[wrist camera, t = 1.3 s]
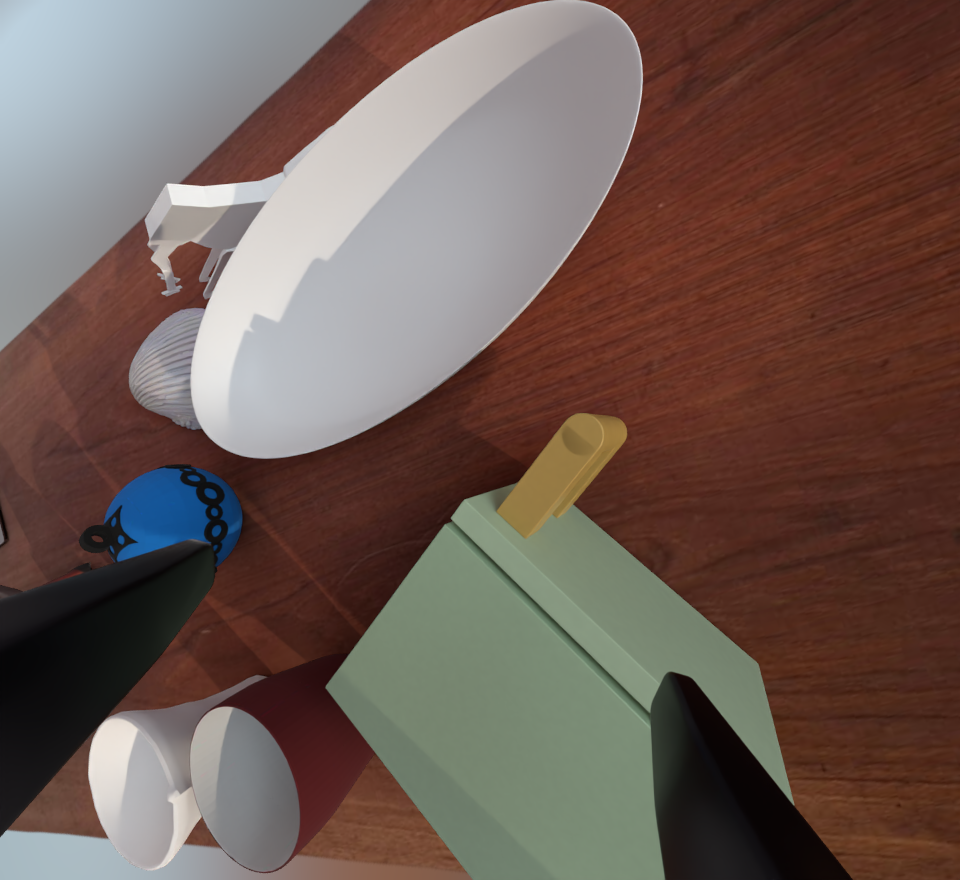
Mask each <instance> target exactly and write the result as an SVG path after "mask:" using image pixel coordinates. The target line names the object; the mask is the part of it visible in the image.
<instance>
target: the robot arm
mask: <svg viewBox="0 0 960 880" xmlns="http://www.w3.org/2000/svg"><path fill="white" fill-rule="evenodd" d="M214 579H215V563H214V548H213V546H212V545H211V544H210V543H207V542H203V541H200V540H196V539H189V540H185V541H182V542H179V543H176V544H173V545H170V546H166V547H163V548H160V549H157V550H154V551H151V552H148V553H144V554H141V555H138V556H135V557H132V558H129V559H125V560H122V561H119V562H116V563H113V564H110V565H107V566H103V567H100V568H97V569H94V570H91V571H88V572H84V573H81V574H78V575H75V576H72V577H69V578H65V579H62V580H59V581H56V582H53V583H50V584H47V585H43V586H40V587H37V588H34V589H31V590H28V591H24V592H21V593H18V594H15V595H12V596H9V597H5V598H2V599H0V837H1V836H2V835H3V834H4V832H5V831H6V830H7V829H8V828H9V827H10V826H11V825H12V823H13V822H14V821H15V820H16V819H17V818H18V817H19V815H20V814H21V813H22V812H23V811H24V810H25V809H26V808H27V806H28V805H29V804H30V803H31V802H32V801H33V800H34V799H35V797H36V796H37V795H38V794H39V793H40V792H41V791H42V790H43V788H44V787H45V786H46V785H47V784H48V783H49V782H50V781H51V779H52V778H53V777H54V776H55V775H56V774H57V773H58V772H59V770H60V769H61V768H62V767H63V766H64V765H65V764H66V763H67V761H68V760H69V759H70V758H71V757H72V756H73V755H74V754H75V752H76V751H77V750H78V749H79V748H80V747H81V746H82V744H83V743H84V742H85V741H86V740H87V739H88V738H89V737H90V735H91V734H92V733H93V732H94V731H95V730H96V729H97V728H98V726H99V725H100V724H101V723H102V722H103V721H104V720H105V719H106V717H107V716H108V715H109V714H110V713H111V712H112V711H113V710H114V708H115V707H116V706H117V705H118V704H119V703H120V702H121V701H122V699H123V698H124V697H125V696H126V695H127V694H128V693H129V692H130V690H131V689H132V688H133V687H134V686H135V685H136V684H137V682H138V681H139V680H140V679H141V678H142V677H143V676H144V675H145V673H146V672H147V671H148V670H149V669H150V668H151V667H152V665H153V664H154V663H155V662H156V661H157V660H158V658H159V657H160V656H161V655H162V653H163V652H164V651H165V650H166V648H167V647H168V646H169V644H170V643H171V642H172V640H173V639H174V638H175V636H176V635H177V634H178V632H179V631H180V629H181V628H182V627H183V625H184V624H185V623H186V621H187V620H188V619H189V617H190V616H191V615H192V613H193V612H194V610H195V609H196V608H197V606H198V605H199V604H200V602H201V601H202V600H203V598H204V597H205V596H206V594H207V593H208V591H209V590H210V589H211V587H212V585H213V582H214ZM650 723H651V745H652V767H653V788H654V804H655V813H656V821H657V829H658V836H659V842H660V849H661V856H662V863H663V870H664V877H665V880H853V879H852V878H851V877H850V875H849V874H848V873H847V872H846V870H845V869H844V868H843V867H842V865H841V864H840V863H839V862H838V860H837V859H836V858H835V857H834V855H833V854H832V853H831V852H830V850H829V849H828V848H827V847H826V845H825V844H824V843H823V841H822V840H821V839H820V838H819V836H818V835H817V834H816V833H815V831H814V830H813V829H812V828H811V826H810V825H809V824H808V823H807V821H806V820H805V819H804V818H803V816H802V815H801V814H800V813H799V811H798V810H797V809H796V808H795V806H794V805H793V804H792V803H791V801H790V800H789V799H788V797H787V796H786V795H785V794H784V792H783V791H782V790H781V789H780V787H779V786H778V785H777V784H776V782H775V781H774V780H773V779H772V777H771V776H770V775H769V774H768V772H767V771H766V770H765V769H764V767H763V766H762V765H761V764H760V762H759V761H758V760H757V759H756V757H755V756H754V755H753V754H752V752H751V751H750V750H749V748H748V747H747V746H746V745H745V743H744V742H743V741H742V740H741V738H740V737H739V736H738V735H737V733H736V732H735V731H734V730H733V728H732V727H731V726H730V725H729V723H728V722H727V721H726V720H725V718H724V717H723V716H722V715H721V713H720V712H719V711H718V710H717V708H716V707H715V706H714V704H713V703H712V702H711V701H710V699H709V698H708V697H707V696H706V694H705V693H704V692H703V691H702V689H701V688H700V687H699V686H698V684H697V683H696V682H695V681H694V680H693V679H692V678H691V677H689V676H687V675H683V674H679V673H676V672H672V671H670V672H667V673H666V674H665V676H664V677H663V679H662V681H661V684H660V686H659V688H658V690H657V692H656V694H655V696H654V698H653V700H652V704H651V709H650Z"/></svg>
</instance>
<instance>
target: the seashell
mask: <svg viewBox="0 0 960 880" xmlns="http://www.w3.org/2000/svg"><path fill="white" fill-rule="evenodd" d="M205 310H206V309H202V308H191V309H185V310H180V311H179V312H175V313H174V314H173V315H171V316H170V317H169V318H165V321H163V322H162V323H160V325H159V326H158V327H157V328H156V329H155V330H154V331H153V332H152V333H150V334H149V336H148V337H147V339H146V340H145V341H144V342H143V344H142V345H141V347H140V348H139V350H138V351H137V353H136V355H135V357H134V359H133V361H132V364H131V367H130V372H129V385H130V389H131V392H132V394H133V395H134V397H135V399H136V400H137V401H138V403H140V405H142V406H143V407H145V408H146V409H148V410H150V411H153V412H155V413H158V414H160V415H164V416H166V417H169V418H171V419H172V421H173V422H176V424H177V425H181V427H185V426H187V428H188V429H189V428H191V430H196V429H201V428H202V427H201V426H200V424H199V422H198V420H197V417H196V415H195V412H194V408H193V404H192V398H191V388H190V375H191V364H192V357H193V351H194V346H195V342H196V338H197V334H198V331H199V327H200V324H201V321H202V318H203V315H204V312H205Z"/></svg>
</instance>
